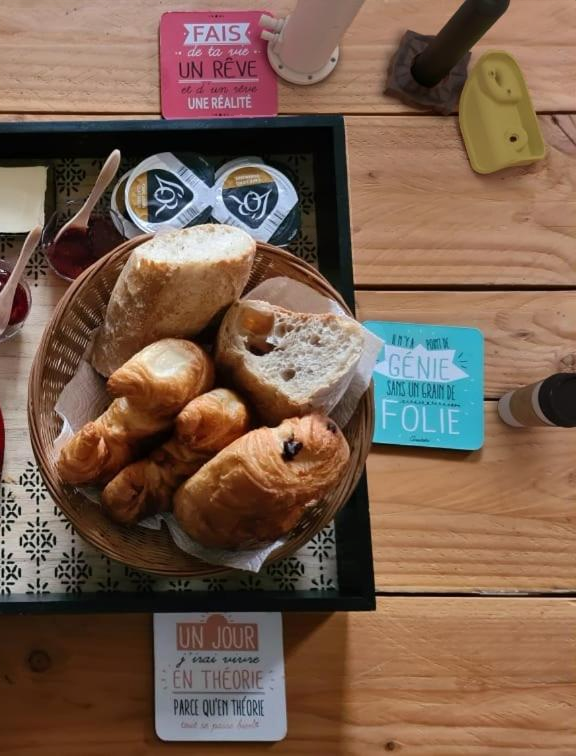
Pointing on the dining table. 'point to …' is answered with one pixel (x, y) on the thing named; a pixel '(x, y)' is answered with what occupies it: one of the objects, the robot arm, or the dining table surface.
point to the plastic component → (499, 115)
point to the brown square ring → (410, 90)
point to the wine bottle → (456, 40)
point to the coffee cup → (542, 403)
